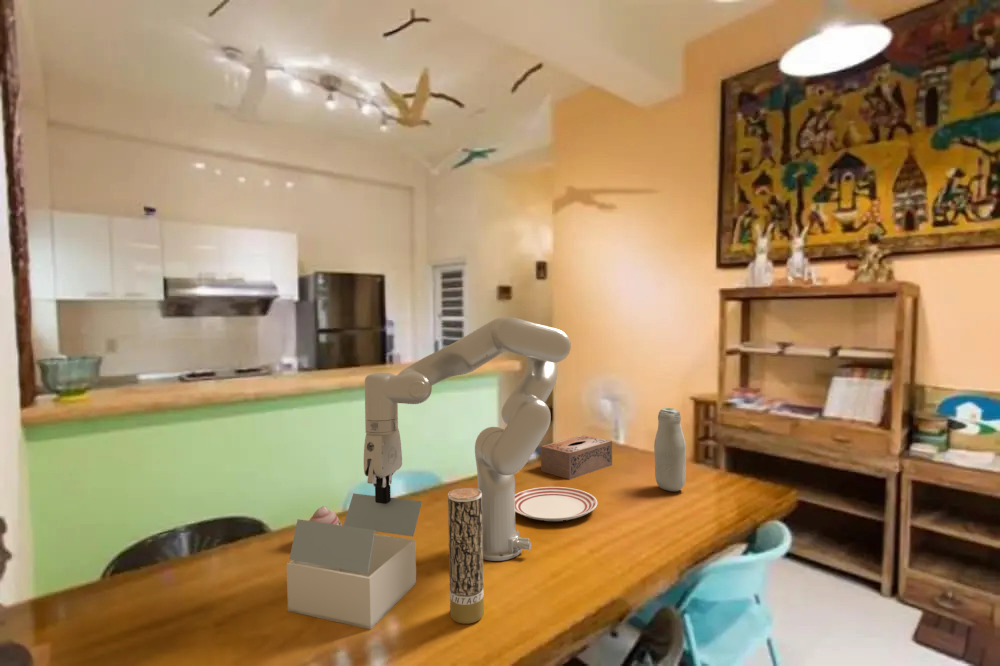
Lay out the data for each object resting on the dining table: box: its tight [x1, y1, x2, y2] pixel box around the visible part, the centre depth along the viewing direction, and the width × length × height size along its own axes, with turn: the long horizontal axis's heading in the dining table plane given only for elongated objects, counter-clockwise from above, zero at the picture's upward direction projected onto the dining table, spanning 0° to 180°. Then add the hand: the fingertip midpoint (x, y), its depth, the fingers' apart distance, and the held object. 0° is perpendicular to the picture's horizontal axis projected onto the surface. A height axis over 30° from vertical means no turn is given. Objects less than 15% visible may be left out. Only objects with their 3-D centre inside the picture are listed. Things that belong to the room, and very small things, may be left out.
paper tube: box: [447, 487, 485, 625], centre depth 103 cm, size 7×7×25 cm
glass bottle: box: [653, 407, 687, 493], centre depth 174 cm, size 10×10×28 cm
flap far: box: [342, 493, 423, 537], centre depth 121 cm, size 19×8×1 cm
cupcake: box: [308, 505, 343, 526], centre depth 138 cm, size 9×9×10 cm
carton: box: [286, 533, 417, 630], centre depth 111 cm, size 20×18×10 cm
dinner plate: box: [515, 486, 598, 522], centre depth 159 cm, size 27×27×3 cm
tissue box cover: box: [540, 434, 613, 480], centre depth 202 cm, size 26×14×10 cm, turn 132°
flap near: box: [289, 519, 376, 573], centre depth 104 cm, size 19×8×1 cm
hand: (382, 502), depth 122 cm, fingers closed
